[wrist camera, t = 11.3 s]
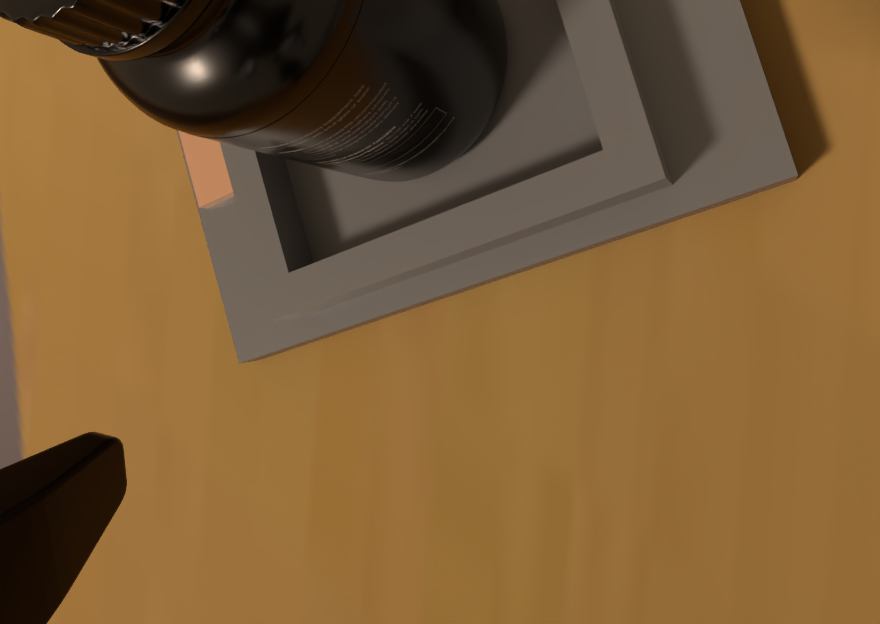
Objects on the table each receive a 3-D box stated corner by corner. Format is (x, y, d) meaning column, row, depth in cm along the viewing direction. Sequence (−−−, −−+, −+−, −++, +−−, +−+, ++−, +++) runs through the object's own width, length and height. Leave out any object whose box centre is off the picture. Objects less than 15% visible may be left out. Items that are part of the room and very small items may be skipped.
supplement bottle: (532, -50, 20) (250, -447, 9) (494, 197, 21) (192, 113, 10) (324, -47, 22) (-88, -348, 12) (298, 172, 23) (-111, 84, 12)
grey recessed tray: (796, 180, 18) (801, 166, 16) (257, 360, 26) (208, 368, 23) (633, -311, 19) (615, -388, 17) (160, -2, 27) (103, -28, 24)
